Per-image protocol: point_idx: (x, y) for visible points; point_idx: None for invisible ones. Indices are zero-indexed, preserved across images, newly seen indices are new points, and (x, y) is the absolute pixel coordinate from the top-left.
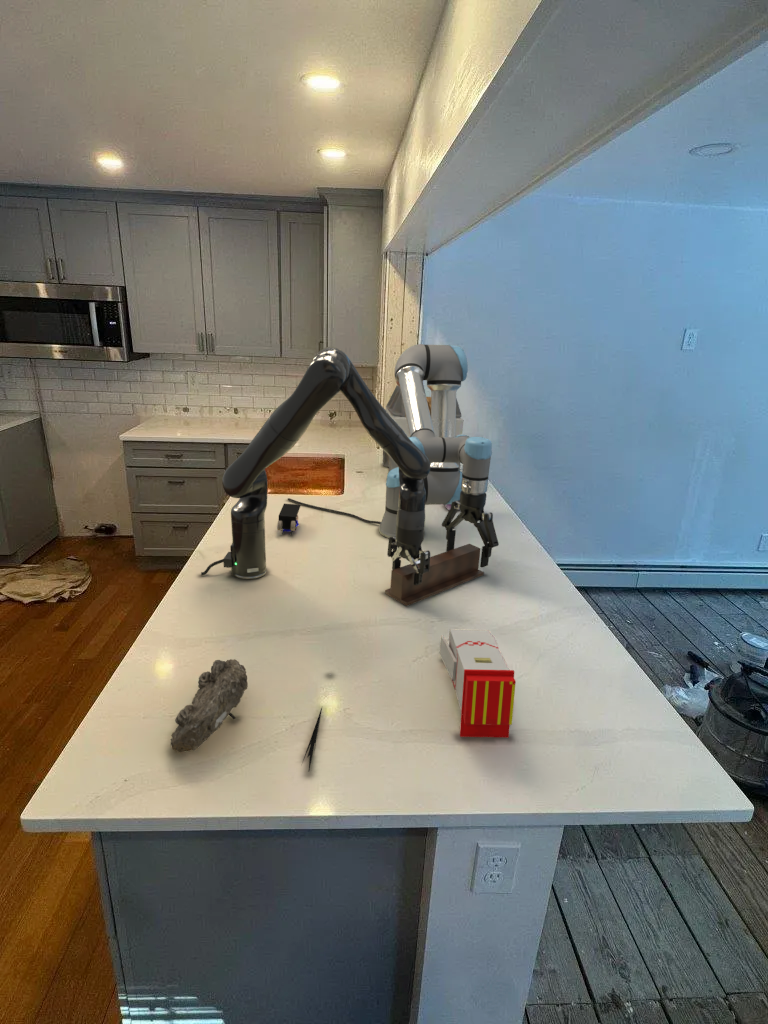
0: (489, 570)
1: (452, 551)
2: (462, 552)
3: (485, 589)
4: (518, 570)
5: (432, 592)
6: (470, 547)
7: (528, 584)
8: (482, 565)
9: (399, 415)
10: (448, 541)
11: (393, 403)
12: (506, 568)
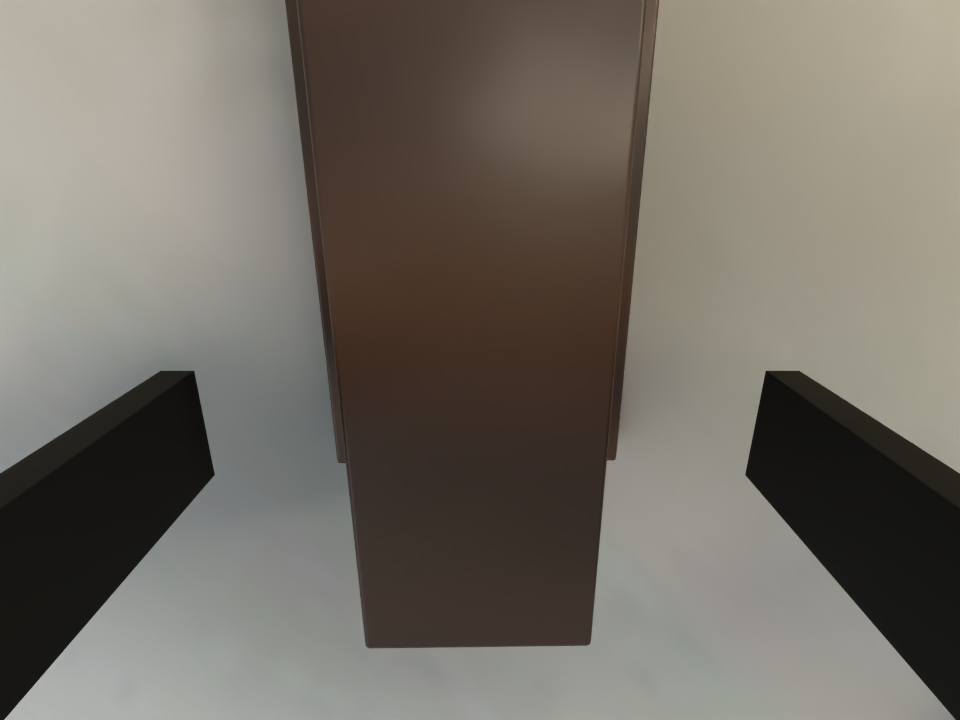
0: None
1: (554, 179)
2: (402, 310)
3: (105, 242)
4: (267, 692)
5: None
6: (476, 563)
7: None
8: (145, 389)
9: None
10: (881, 445)
11: None
12: (338, 657)
